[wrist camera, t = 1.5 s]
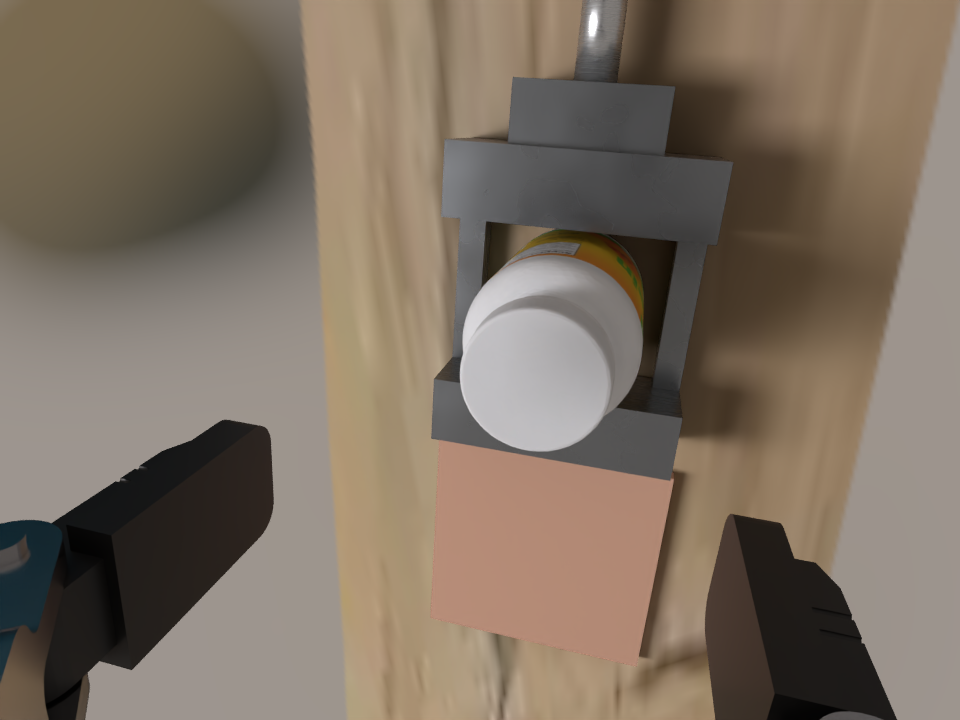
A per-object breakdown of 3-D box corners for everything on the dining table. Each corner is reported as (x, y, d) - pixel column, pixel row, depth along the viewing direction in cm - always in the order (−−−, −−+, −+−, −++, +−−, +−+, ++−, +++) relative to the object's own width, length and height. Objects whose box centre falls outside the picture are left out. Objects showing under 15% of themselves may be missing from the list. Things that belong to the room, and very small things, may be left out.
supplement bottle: (656, 345, 25) (661, 464, 16) (524, 368, 27) (463, 487, 18) (629, 209, 24) (618, 257, 15) (491, 242, 25) (408, 304, 16)
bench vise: (483, -64, 22) (455, -97, 19) (762, -61, 20) (784, -96, 17) (455, 403, 28) (431, 438, 25) (667, 438, 26) (669, 481, 23)
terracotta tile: (443, 432, 29) (439, 437, 28) (673, 472, 27) (674, 479, 26) (434, 609, 32) (430, 618, 32) (636, 656, 30) (636, 666, 30)
